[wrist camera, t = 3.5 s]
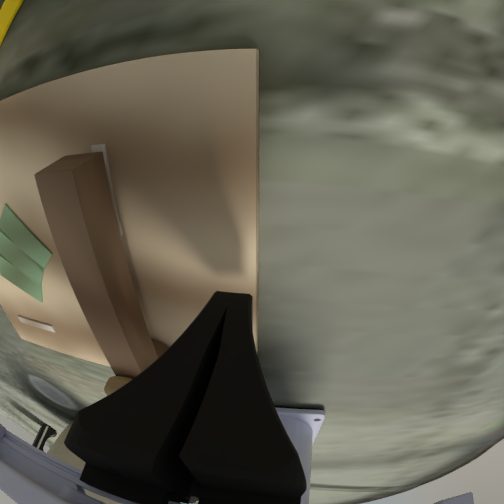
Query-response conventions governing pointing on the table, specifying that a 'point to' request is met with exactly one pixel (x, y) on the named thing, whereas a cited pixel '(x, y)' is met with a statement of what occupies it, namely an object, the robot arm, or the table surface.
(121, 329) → the peg lever
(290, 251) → the table surface
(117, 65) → the tan wooden board
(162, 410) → the robot arm
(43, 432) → the battery charger
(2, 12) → the watch
